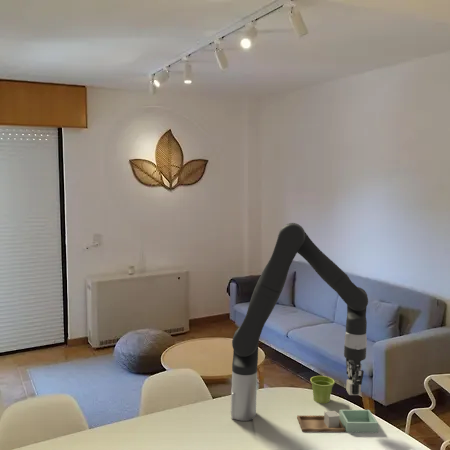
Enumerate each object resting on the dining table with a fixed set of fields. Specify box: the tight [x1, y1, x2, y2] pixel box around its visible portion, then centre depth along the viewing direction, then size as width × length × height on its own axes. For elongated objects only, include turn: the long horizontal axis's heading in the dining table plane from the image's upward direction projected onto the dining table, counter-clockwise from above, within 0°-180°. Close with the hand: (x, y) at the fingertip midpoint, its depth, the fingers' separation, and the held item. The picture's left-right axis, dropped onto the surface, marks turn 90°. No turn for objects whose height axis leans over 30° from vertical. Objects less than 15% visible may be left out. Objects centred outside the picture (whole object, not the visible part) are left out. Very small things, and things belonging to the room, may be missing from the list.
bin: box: [338, 409, 379, 433], centre depth 183 cm, size 11×10×4 cm
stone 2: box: [345, 379, 362, 396], centre depth 182 cm, size 4×4×4 cm
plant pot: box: [310, 375, 335, 404], centre depth 203 cm, size 9×9×9 cm
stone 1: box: [323, 410, 339, 428], centre depth 183 cm, size 4×4×4 cm
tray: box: [296, 415, 346, 433], centre depth 183 cm, size 15×10×2 cm, turn 92°
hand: (353, 391), depth 182 cm, fingers closed on stone 2, 4 cm apart
